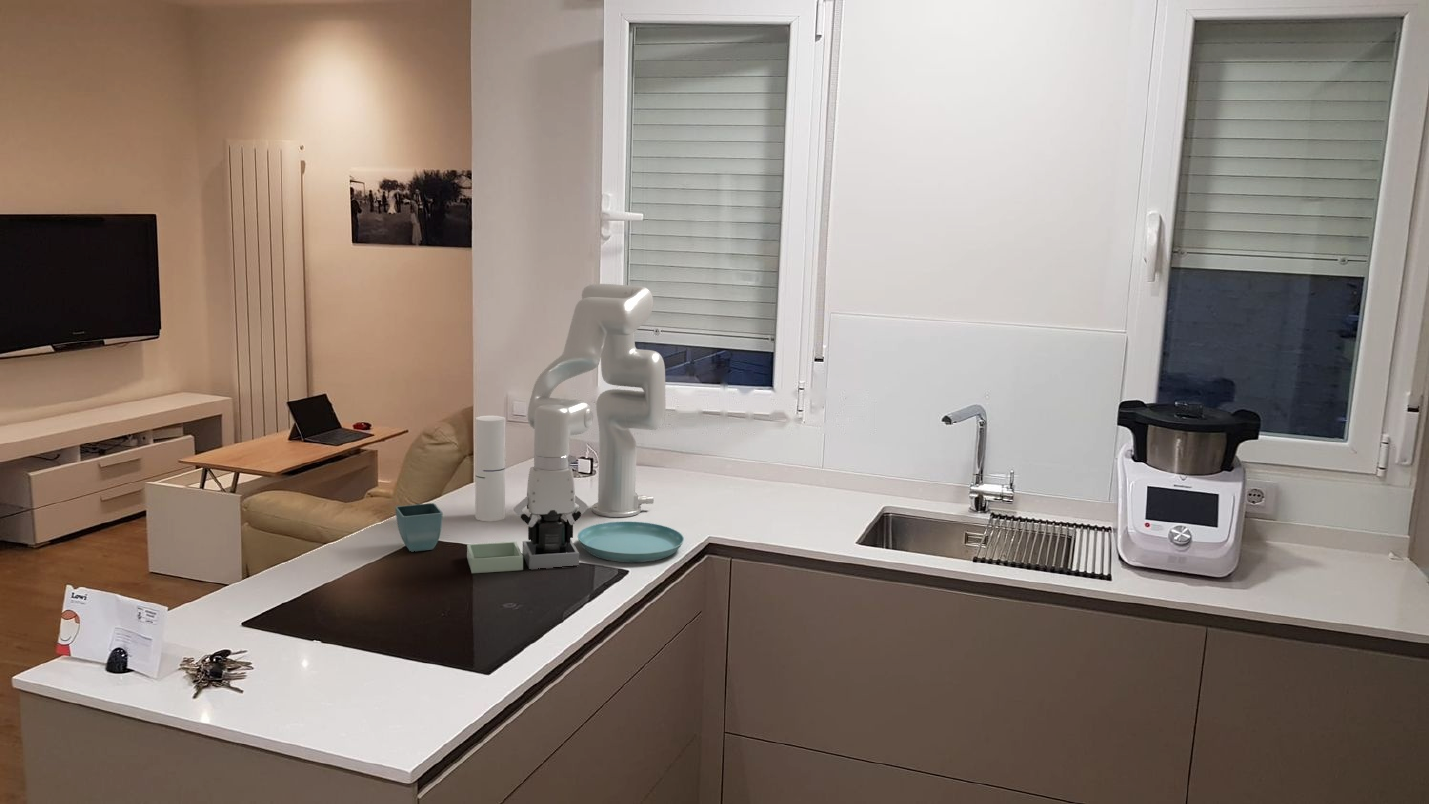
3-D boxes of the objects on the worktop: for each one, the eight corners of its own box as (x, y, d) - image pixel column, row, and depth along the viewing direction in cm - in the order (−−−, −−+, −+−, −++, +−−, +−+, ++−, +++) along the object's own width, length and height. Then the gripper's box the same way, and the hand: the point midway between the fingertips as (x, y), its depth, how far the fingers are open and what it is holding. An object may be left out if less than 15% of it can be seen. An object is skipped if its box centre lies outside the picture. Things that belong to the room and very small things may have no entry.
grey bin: (569, 551, 237) (570, 538, 236) (578, 566, 227) (579, 553, 226) (522, 554, 234) (522, 541, 233) (529, 569, 224) (529, 555, 223)
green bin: (516, 554, 233) (516, 541, 233) (522, 570, 223) (522, 556, 223) (467, 557, 230) (467, 544, 229) (471, 573, 220) (471, 559, 219)
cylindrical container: (501, 521, 257) (501, 421, 253) (472, 520, 258) (472, 420, 253) (507, 514, 265) (508, 416, 260) (479, 512, 265) (479, 415, 260)
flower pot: (402, 556, 229) (402, 516, 227) (395, 544, 237) (394, 506, 235) (443, 551, 233) (443, 512, 232) (434, 540, 241) (434, 502, 239)
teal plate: (604, 573, 224) (605, 558, 224) (560, 541, 245) (561, 527, 244) (702, 558, 237) (703, 544, 236) (653, 529, 257) (653, 516, 257)
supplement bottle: (571, 558, 232) (572, 505, 230) (557, 567, 226) (558, 513, 224) (543, 553, 234) (544, 501, 232) (528, 562, 228) (529, 508, 226)
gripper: (588, 457, 233) (586, 535, 236) (508, 459, 227) (508, 539, 230) (595, 464, 226) (593, 544, 229) (513, 467, 220) (512, 549, 223)
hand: (550, 541), depth 229 cm, fingers closed on supplement bottle, 6 cm apart
